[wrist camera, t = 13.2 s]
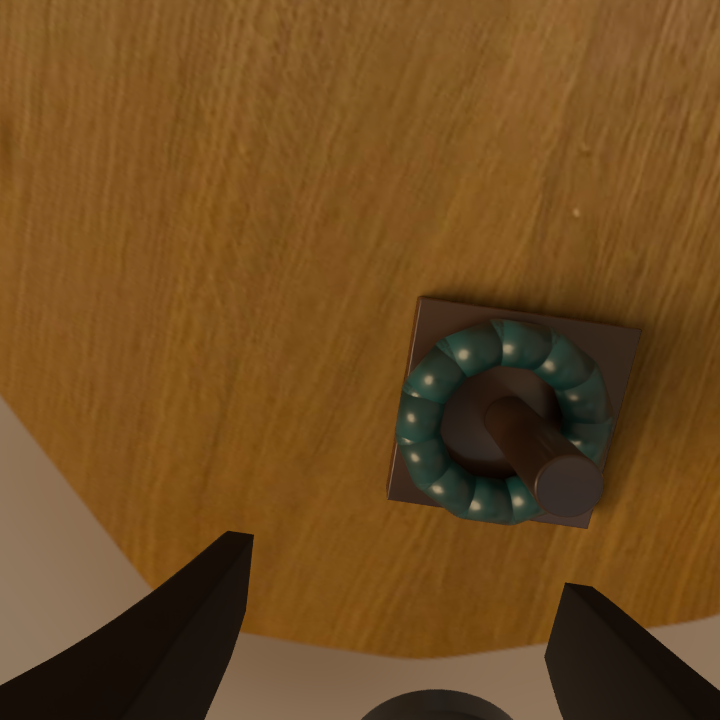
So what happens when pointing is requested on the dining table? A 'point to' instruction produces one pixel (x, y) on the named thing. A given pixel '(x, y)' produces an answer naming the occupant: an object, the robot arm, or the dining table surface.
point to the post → (517, 413)
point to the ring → (470, 357)
